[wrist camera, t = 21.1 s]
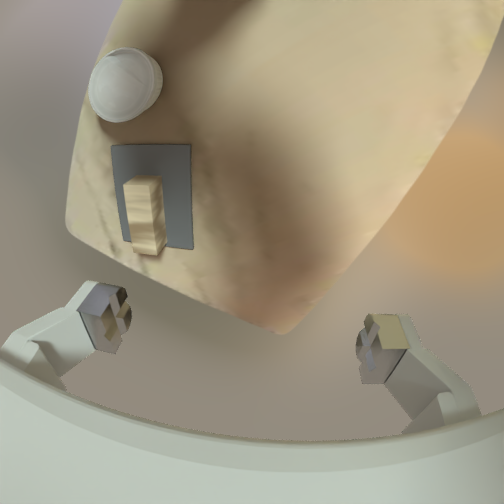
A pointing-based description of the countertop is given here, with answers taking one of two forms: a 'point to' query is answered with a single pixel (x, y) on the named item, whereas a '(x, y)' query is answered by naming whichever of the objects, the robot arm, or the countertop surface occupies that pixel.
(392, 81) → the countertop surface
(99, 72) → the ramekin
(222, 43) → the countertop surface
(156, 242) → the maple block
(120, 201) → the rubber mat
